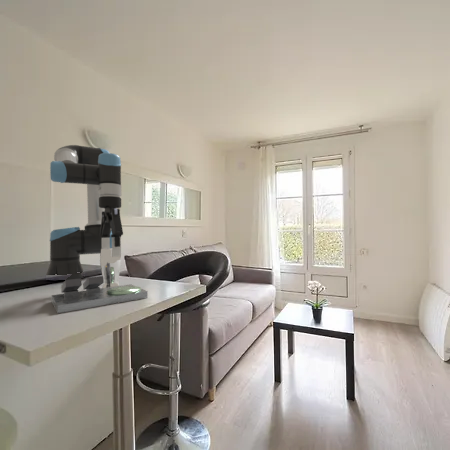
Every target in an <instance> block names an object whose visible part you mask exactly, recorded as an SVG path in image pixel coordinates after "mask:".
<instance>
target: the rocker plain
mask: <svg viewBox="0 0 450 450" xmlns="http://www.w3.org/2000/svg"><path fill="white" fill-rule="evenodd" d="M103 283H104V280H103V276H102V275H100V276H91V277H87V279H85V281H84V282H82V287H83V290H82V291H86V289H87V288H94V287H100V286H102V285H103Z"/></svg>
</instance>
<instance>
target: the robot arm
mask: <svg viewBox="0 0 450 450" xmlns="http://www.w3.org/2000/svg"><path fill="white" fill-rule="evenodd" d="M53 159H54V160H52V161H50V163H49V164H50V166H49V169H50V174H49V175H50V181H52V182H55V183H60V184H64V183H65V184H81V185H82V184H83V185H86V190H87V191H86V195H87V196H86V197H87V198H86V199H87V223H86V224H85V225H84V229H81V228H80V227H79V226H74V227H67V228H58V229H53V230H51V232H50V235H49V242H50V243H49V244H50V246H49V247H50V251H49V257H50V258H49V265H48V267H47V271H46V273H45V276H46V275H55V274H57V275H67V274H72V275H71V276H70V277H68V278H67V279H66V280H71V279H80V278H81V279H84V277H82V275H81V273H82V272H83V271H84V268H83V266H82V263H81V257H80V256H82V255H96V254H98V255H99V254H100V253H101V249H102V248H112V257H119V256H121V257H122V241H121V239H122V236H123V235H124V231H123V226H122V220H121V213H120V211H121V208H122V198H121V197H122V163H121V162H122V161H121V156H119V155H118V154H117V153H110V151H109V150H108V149H105V148H100V147H92V146H83V145H77V144H70V145H65V146H61V147H60V148H58V149H56V151H55V152H54V155H53ZM77 272H80V273H77Z"/></svg>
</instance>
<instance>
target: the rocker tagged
mask: <svg viewBox="0 0 450 450" xmlns="http://www.w3.org/2000/svg"><path fill="white" fill-rule="evenodd" d="M82 286H83V282H82V278H80V279H71V280H65V281H63V283H62V285H61V287H60V289H61V294H64V292H65V291H72V290H78V291H79V289H80V288H81V287H82Z"/></svg>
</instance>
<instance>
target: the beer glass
mask: <svg viewBox="0 0 450 450" xmlns="http://www.w3.org/2000/svg"><path fill="white" fill-rule="evenodd" d="M99 265H100V270H101V271H100V272H101V276H103V280H104V283H103V284H101V288H108V287H115V286H121V285H120V271H121V266H122V255H121V256H119V257H112V248H102V249H101V253H100V256H99Z"/></svg>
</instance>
